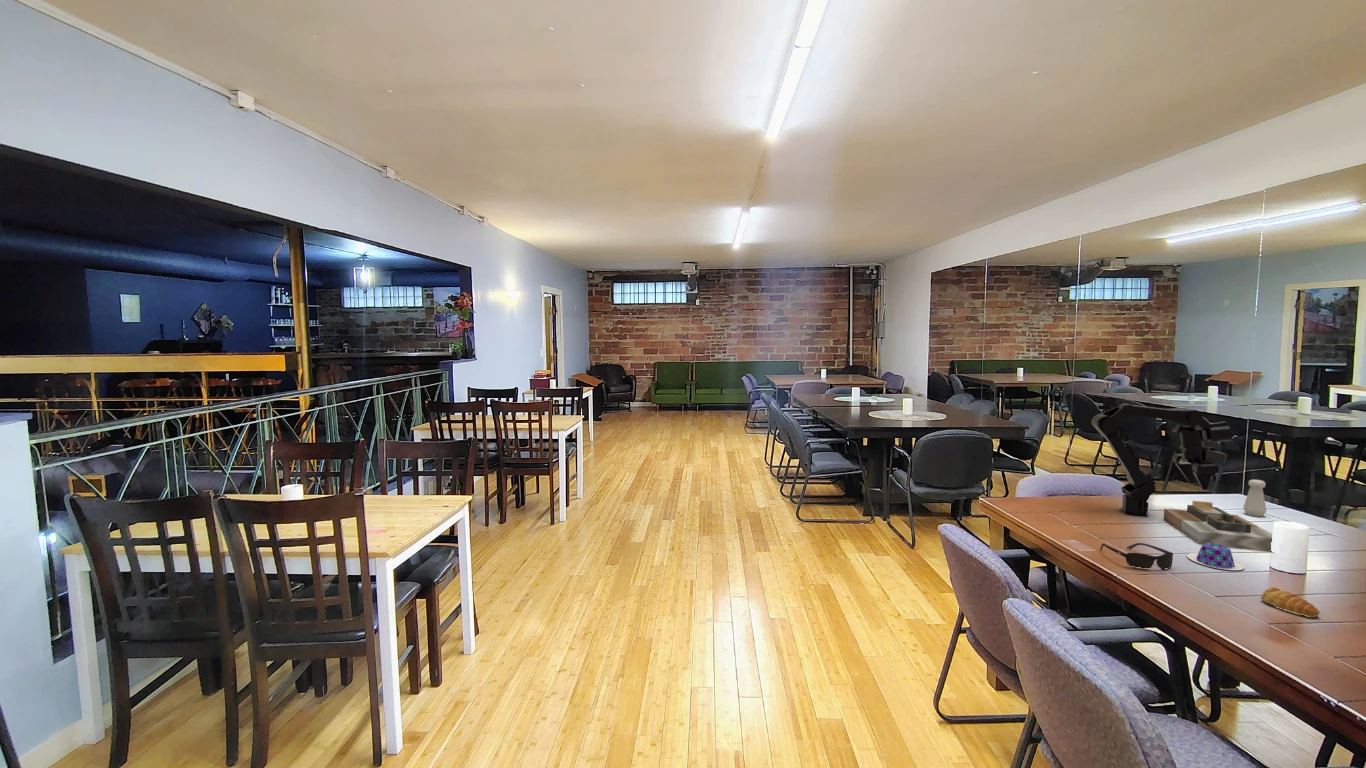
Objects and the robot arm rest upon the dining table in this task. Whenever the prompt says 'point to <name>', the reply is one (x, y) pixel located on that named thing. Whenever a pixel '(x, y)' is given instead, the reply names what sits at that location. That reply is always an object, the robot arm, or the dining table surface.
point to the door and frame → (1219, 529)
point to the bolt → (1207, 509)
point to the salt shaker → (1255, 499)
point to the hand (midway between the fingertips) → (1198, 486)
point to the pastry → (1288, 602)
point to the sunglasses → (1145, 557)
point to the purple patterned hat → (1215, 557)
